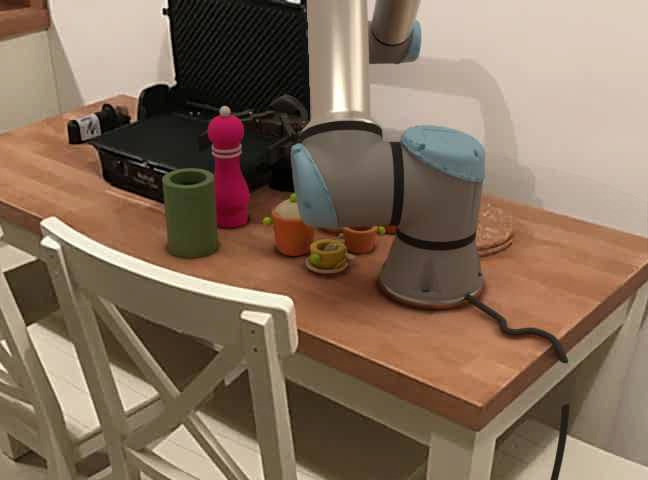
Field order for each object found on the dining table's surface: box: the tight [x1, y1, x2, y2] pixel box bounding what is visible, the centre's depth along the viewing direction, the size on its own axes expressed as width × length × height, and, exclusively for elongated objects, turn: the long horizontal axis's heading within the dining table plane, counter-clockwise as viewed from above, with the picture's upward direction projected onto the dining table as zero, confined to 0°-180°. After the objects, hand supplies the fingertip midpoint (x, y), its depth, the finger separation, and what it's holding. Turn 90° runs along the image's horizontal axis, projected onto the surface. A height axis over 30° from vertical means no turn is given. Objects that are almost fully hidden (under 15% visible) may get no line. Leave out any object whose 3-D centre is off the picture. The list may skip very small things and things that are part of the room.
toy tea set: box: [262, 192, 396, 275], centre depth 149 cm, size 26×16×10 cm, turn 137°
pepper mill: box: [207, 105, 251, 229], centre depth 154 cm, size 7×7×20 cm
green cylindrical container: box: [161, 167, 219, 259], centre depth 148 cm, size 8×8×12 cm
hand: (233, 150), depth 154 cm, fingers open, 13 cm apart
